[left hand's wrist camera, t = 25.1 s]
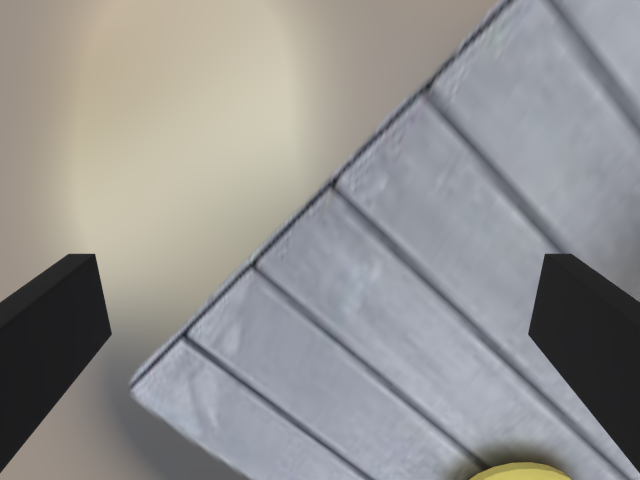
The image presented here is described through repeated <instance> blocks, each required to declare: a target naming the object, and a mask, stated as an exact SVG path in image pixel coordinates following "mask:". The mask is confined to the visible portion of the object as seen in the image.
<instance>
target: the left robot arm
mask: <svg viewBox="0 0 640 480" xmlns="http://www.w3.org/2000/svg"><path fill="white" fill-rule="evenodd" d="M111 335H112V333H111V328H110V323H109V319H108V314H107V309H106V304H105V299H104V295H103V290H102V285H101V280H100V275H99V271H98V266H97V261H96V256H95V254H68V255H66V256H65V257H64V258H62V259H61V260H59V261H58V262H57V263H55V264H54V265H52V266H51V267H50V268H48V269H47V270H45V271H44V272H43V273H41V274H40V275H38V276H37V277H35V278H34V279H33V280H31V281H30V282H28V283H27V284H26V285H24V286H23V287H21V288H20V289H19V290H17V291H16V292H14V293H13V294H12V295H10V296H9V297H7V298H6V299H4V300H3V301H2V302H0V473H1V472H2V470H3V469H4V468H5V467H6V465H7V464H8V463H9V462H10V460H11V459H12V458H13V457H14V455H15V454H16V453H17V452H18V450H19V449H20V448H21V447H22V445H23V444H24V443H25V442H26V440H27V439H28V438H29V437H30V435H31V434H32V433H33V432H34V430H35V429H36V428H37V427H38V426H39V424H40V423H41V422H42V421H43V419H44V418H45V417H46V416H47V414H48V413H49V412H50V411H51V409H52V408H53V407H54V406H55V404H56V403H57V402H58V401H59V399H60V398H61V397H62V396H63V394H64V393H65V392H66V391H67V389H68V388H69V387H70V386H71V384H72V383H73V382H74V381H75V380H76V378H77V377H78V376H79V374H80V373H81V372H82V371H83V369H84V368H85V367H86V366H87V365H88V363H89V362H90V361H91V360H92V358H93V357H94V356H95V355H96V353H97V352H98V351H99V350H100V348H101V347H102V346H103V345H104V343H105V342H106V341H107V340H108V338H109V337H110V336H111ZM528 335H529V336H530V337H531V338H532V340H533V341H534V342H535V343H536V345H537V346H538V347H539V348H540V350H541V351H542V352H543V353H544V355H545V356H546V357H547V358H548V360H549V361H550V362H551V363H552V365H553V366H554V367H555V368H556V370H557V371H558V372H559V373H560V375H561V376H562V377H563V378H564V380H565V381H566V382H567V383H568V384H569V386H570V387H571V388H572V389H573V391H574V392H575V393H576V394H577V396H578V397H579V398H580V399H581V401H582V402H583V403H584V404H585V406H586V407H587V408H588V409H589V411H590V412H591V413H592V414H593V416H594V417H595V418H596V419H597V421H598V422H599V423H600V424H601V426H602V427H603V428H604V429H605V430H606V432H607V433H608V434H609V435H610V437H611V438H612V439H613V440H614V442H615V443H616V444H617V445H618V447H619V448H620V449H621V450H622V452H623V453H624V454H625V455H626V457H627V458H628V459H629V460H630V462H631V463H632V464H633V465H634V467H635V468H636V469H637V470H638V472H639V473H640V302H638V301H637V300H636V299H634V298H633V297H631V296H630V295H628V294H627V293H626V292H624V291H623V290H621V289H620V288H619V287H617V286H616V285H614V284H613V283H612V282H610V281H609V280H607V279H606V278H605V277H603V276H602V275H600V274H599V273H598V272H596V271H595V270H593V269H592V268H590V267H589V266H588V265H586V264H585V263H583V262H582V261H581V260H579V259H578V258H576V257H575V256H574V255H572V254H545V256H544V261H543V266H542V271H541V275H540V280H539V285H538V290H537V295H536V299H535V304H534V309H533V314H532V319H531V323H530V328H529V333H528Z"/></svg>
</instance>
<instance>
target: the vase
mask: <svg viewBox="0 0 640 480" xmlns="http://www.w3.org/2000/svg"><path fill="white" fill-rule="evenodd" d="M469 480H572V479H570V478H569V477H568V476H567V475H566V474H564V473H563V472H562V471H560V470H558V469H555V468H553V467H551V466H548V465H544V464H538V463H532V462H520V463H509V464H504V465H500V466H495V467H492V468H490V469H488V470H485V471H483V472H481V473H478V474H477V475H475V476H474V477H472V478H471V479H469Z"/></svg>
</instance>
